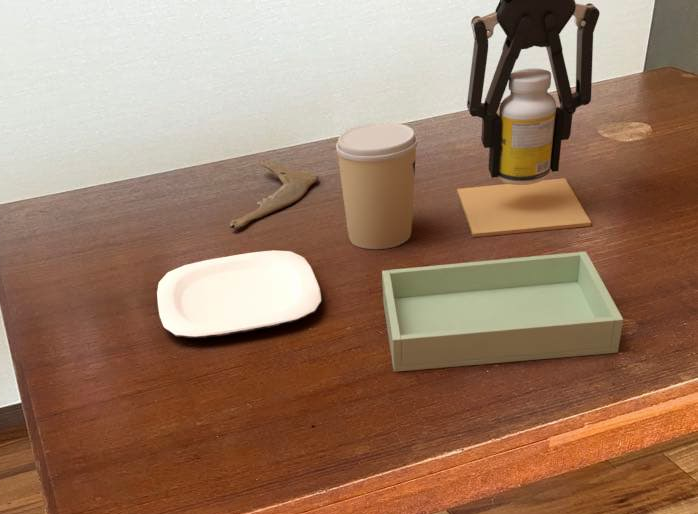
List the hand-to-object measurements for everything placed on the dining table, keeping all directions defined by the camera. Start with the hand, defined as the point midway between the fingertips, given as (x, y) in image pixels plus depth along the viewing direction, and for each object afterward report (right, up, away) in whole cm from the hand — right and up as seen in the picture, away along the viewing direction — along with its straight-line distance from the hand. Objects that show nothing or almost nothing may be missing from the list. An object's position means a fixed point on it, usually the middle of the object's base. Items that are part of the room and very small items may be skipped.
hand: (523, 169), depth 108 cm
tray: (-8, -23, -17) cm, 29 cm away
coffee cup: (-17, -8, +2) cm, 19 cm away
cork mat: (0, -4, +3) cm, 5 cm away
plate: (-34, -18, -7) cm, 40 cm away
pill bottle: (0, -1, +1) cm, 1 cm away
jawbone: (-33, +1, +14) cm, 36 cm away
